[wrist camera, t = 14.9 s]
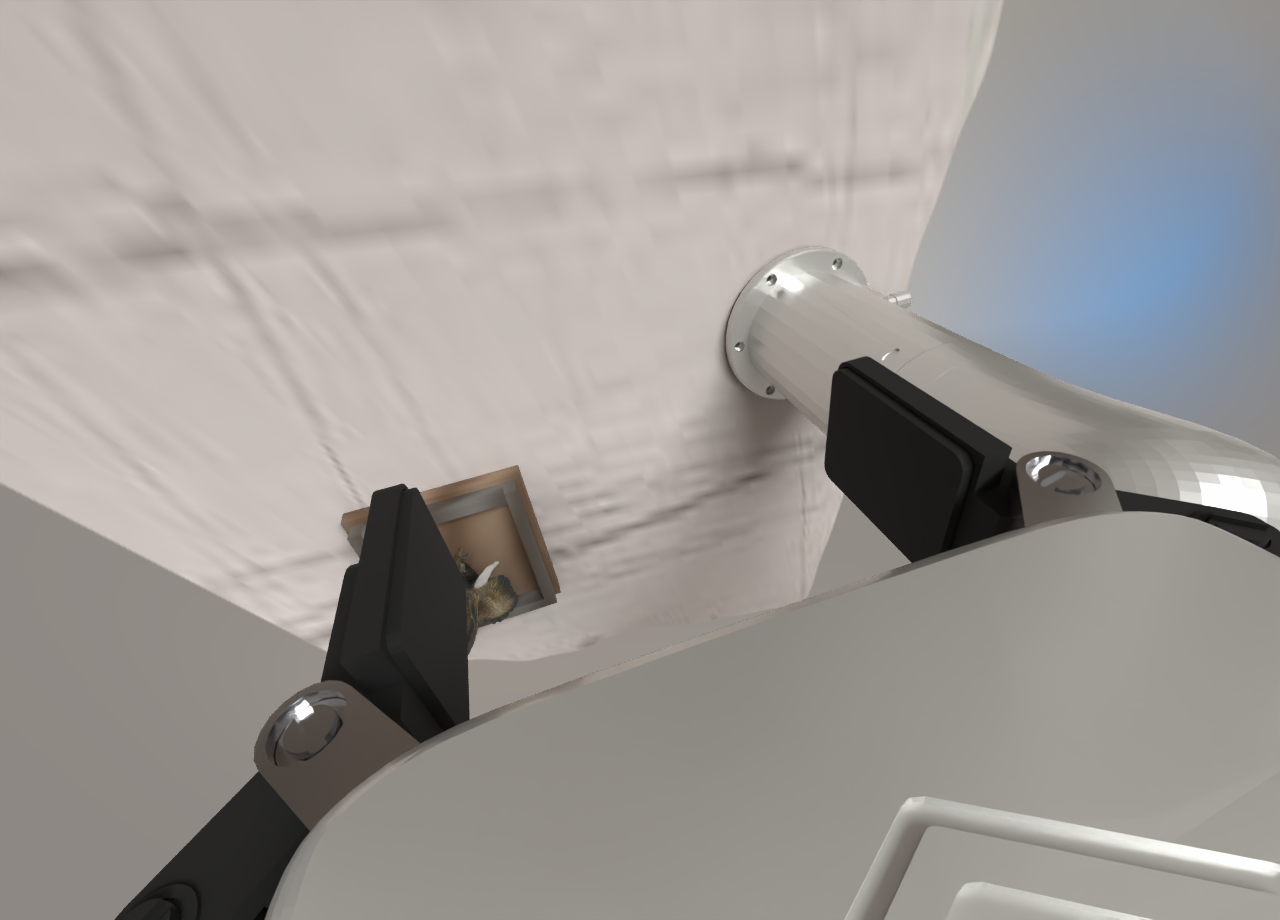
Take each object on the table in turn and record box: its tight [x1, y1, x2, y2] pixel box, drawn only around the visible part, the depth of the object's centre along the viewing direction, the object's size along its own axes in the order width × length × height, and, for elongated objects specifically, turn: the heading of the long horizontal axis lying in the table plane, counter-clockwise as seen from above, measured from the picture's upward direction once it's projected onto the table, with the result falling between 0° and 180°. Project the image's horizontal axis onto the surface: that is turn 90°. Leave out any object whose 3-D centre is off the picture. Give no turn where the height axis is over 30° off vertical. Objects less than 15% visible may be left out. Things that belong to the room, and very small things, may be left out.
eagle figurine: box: [453, 547, 518, 654], centre depth 45 cm, size 8×7×9 cm
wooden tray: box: [341, 465, 561, 628], centre depth 46 cm, size 14×15×3 cm
